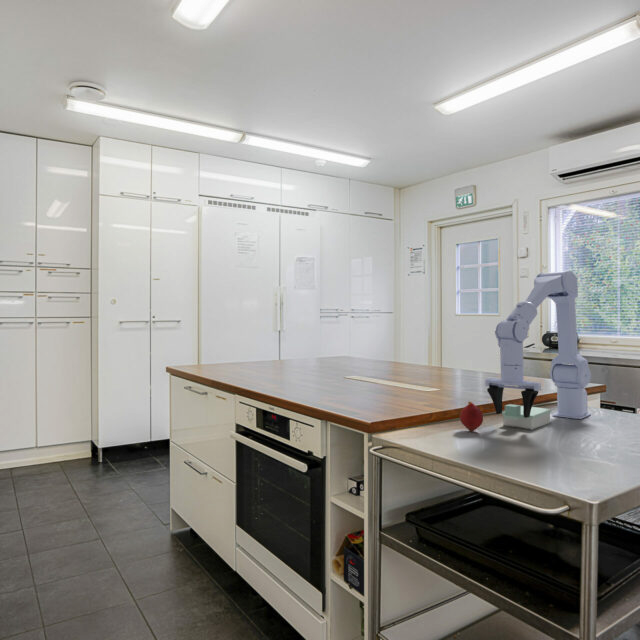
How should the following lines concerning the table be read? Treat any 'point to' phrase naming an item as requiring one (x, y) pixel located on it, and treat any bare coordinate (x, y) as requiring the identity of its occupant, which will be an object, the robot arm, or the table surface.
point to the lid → (517, 412)
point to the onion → (471, 416)
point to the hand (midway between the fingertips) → (512, 415)
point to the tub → (528, 422)
